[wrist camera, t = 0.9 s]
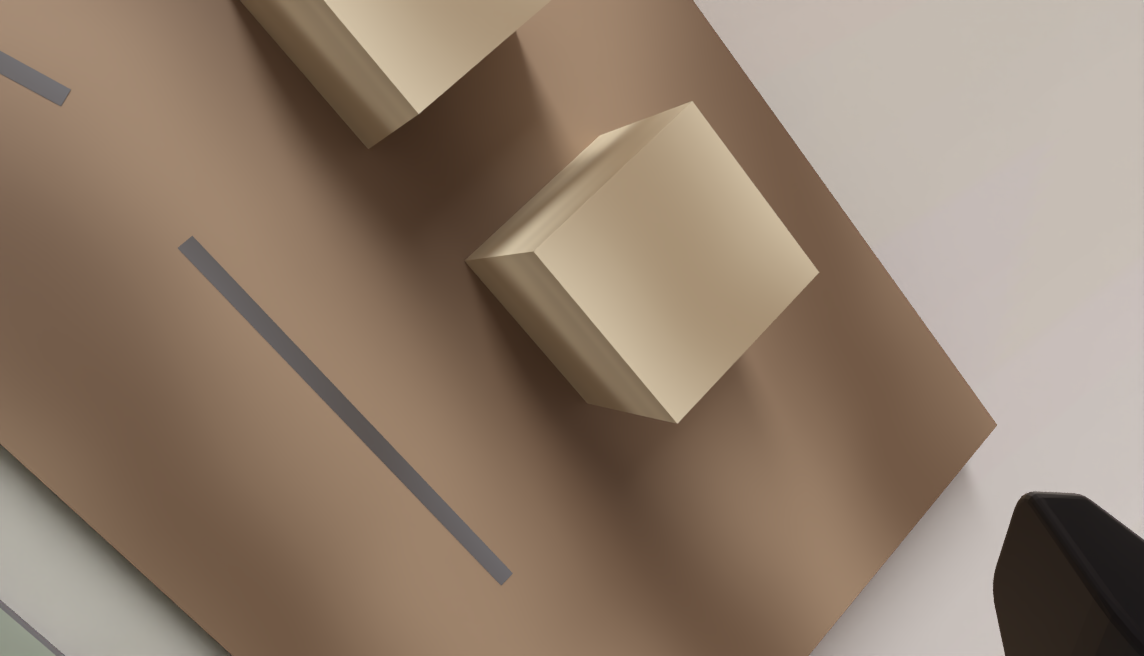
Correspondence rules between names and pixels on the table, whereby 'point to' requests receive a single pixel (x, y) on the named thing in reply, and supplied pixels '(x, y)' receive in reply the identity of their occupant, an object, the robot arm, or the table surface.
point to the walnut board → (428, 352)
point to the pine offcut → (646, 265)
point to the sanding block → (21, 637)
